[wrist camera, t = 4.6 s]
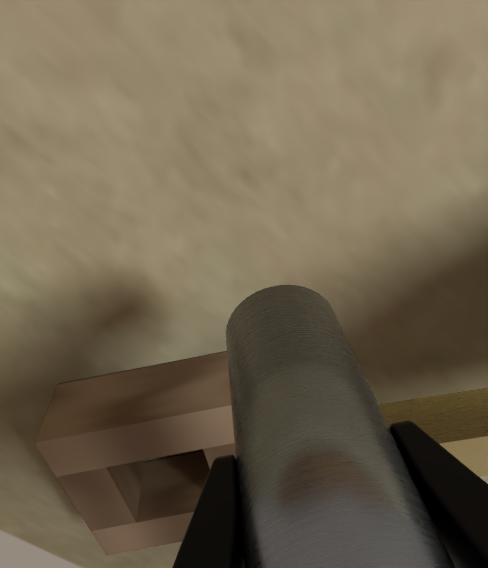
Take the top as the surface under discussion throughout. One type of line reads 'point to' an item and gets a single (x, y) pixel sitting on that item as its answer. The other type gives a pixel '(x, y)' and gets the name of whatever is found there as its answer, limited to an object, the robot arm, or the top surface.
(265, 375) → the cylinder
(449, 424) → the square bit
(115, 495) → the socket block
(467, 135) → the top surface
